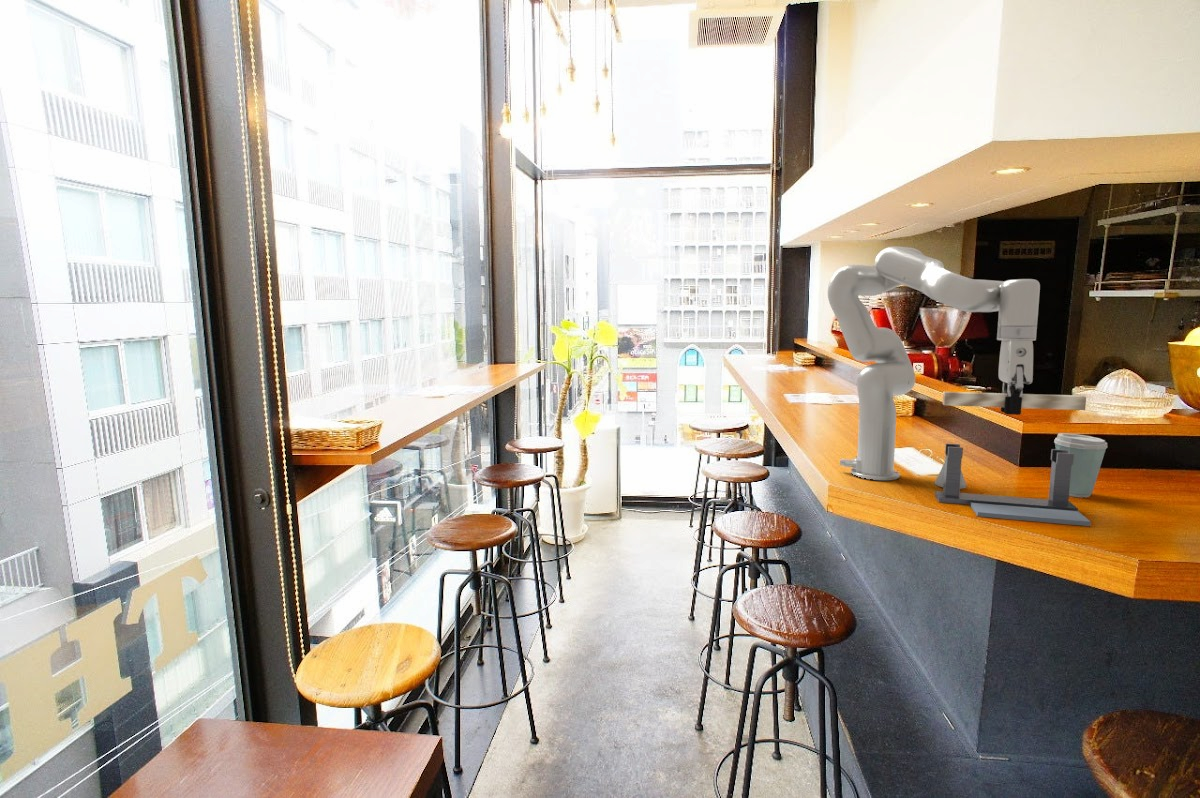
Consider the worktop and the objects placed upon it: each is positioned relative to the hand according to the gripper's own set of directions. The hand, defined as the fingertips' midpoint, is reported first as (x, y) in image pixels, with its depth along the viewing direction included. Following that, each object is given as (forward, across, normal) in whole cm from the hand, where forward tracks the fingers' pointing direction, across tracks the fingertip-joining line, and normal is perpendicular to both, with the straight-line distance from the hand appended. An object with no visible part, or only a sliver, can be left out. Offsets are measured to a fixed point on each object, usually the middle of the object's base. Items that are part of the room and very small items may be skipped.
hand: (1010, 412), depth 148 cm
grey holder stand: (+22, 0, 0) cm, 22 cm away
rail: (-1, 0, 0) cm, 1 cm away
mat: (+22, -8, -3) cm, 24 cm away
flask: (+22, +14, +9) cm, 28 cm away
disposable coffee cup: (+22, +15, -19) cm, 33 cm away
